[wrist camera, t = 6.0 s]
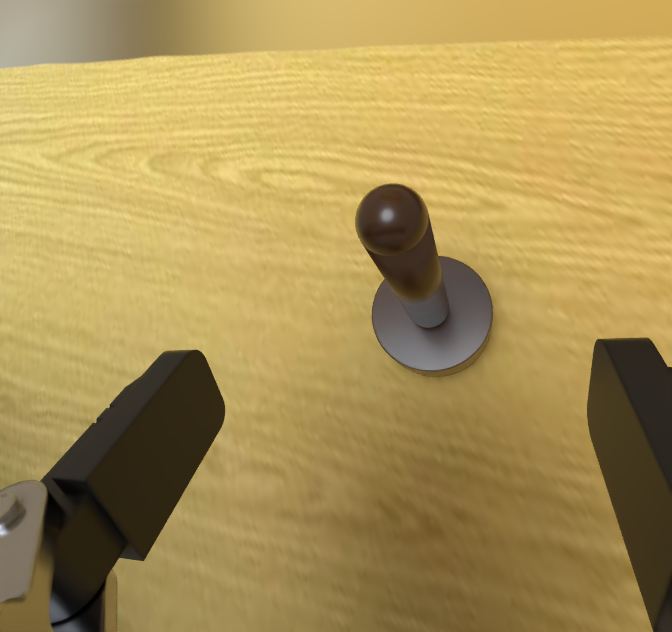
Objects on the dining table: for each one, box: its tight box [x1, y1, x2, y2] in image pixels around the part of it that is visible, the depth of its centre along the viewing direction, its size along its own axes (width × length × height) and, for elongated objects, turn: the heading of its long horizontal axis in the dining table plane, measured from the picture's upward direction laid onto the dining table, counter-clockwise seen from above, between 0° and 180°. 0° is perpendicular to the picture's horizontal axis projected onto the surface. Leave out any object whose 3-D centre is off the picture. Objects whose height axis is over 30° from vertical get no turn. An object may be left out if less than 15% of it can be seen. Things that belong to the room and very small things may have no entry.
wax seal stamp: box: [355, 184, 493, 377], centre depth 18 cm, size 6×6×15 cm
